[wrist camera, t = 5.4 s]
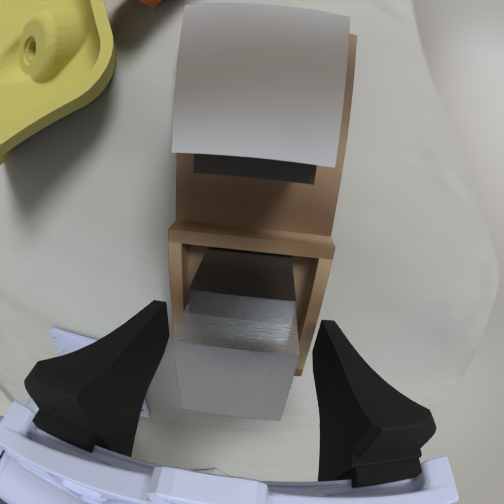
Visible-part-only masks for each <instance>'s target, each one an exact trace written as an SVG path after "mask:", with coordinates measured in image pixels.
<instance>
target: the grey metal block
mask: <svg viewBox="0 0 504 504" xmlns="http://www.w3.org/2000/svg"><path fill="white" fill-rule="evenodd" d="M295 306H296V293H295V284H294V275H293V266H292V257H291V255H283V254H274V253H265V252H256V251H246V250H237V249H228V248H219V247H208V249H207V251H206V253H205V255H204V257H203V259H202V261H201V264H200V266H199V268H198V270H197V272H196V274H195V276H194V279H193V281H192V283H191V285H190V287H189V301H188V304H187V306H186V308H185V311H184V313H183V315H182V318H181V320H180V323H179V325H178V327H177V330H176V332H175V335H174V337H173V340H172V341H173V350H174V358H175V366H176V374H177V381H178V387H179V394H180V400H181V407H182V409H188V410H193V411H199V412H205V413H212V414H218V415H226V416H234V417H242V418H252V419H264V420H278V421H280V419H281V416H282V413H283V410H284V406H285V403H286V400H287V397H288V394H289V390H290V387H291V384H292V380H293V377H294V373H295V370H296V366H297V363H298V359H299V356H300V354H299V342H298V330H297V318H296V307H295Z"/></svg>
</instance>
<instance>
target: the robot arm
mask: <svg viewBox="0 0 504 504" xmlns="http://www.w3.org/2000/svg"><path fill="white" fill-rule="evenodd" d="M50 334H51V336H52V339H53V341H54V344H55V346H56V349H57V351H58V353H59V356H58V357H55V358H51V359H47V360H42V361H38V362H37V363H36V365H35V366H34V368H33V369H32V370H31V372H30V373H29V375H28V376H27V377H26V379H25V381H24V384H25V388H26V390H27V392H28V393H29V395H30V396H31V397H30V399H29V400H28V402H27V404H26V405H25V406H24V405H22V404H21V403H19V402H17V401H14V402H13V403H12V405H11V406H10V408H9V409H8V411H7V413H6V414H5V416H0V504H452V503H454V502H456V501H458V499H459V497H458V493H457V489H456V486H455V482H454V478H453V475H452V471H451V467H450V464H449V461H448V458H447V456H441V457H438V458H434V459H430V460H426V461H424V462H422V463H420V461H419V457H421V455H422V453H421V450H420V448H421V447H422V446H423V445H424V444H425V443H426V442H427V441H428V440H429V439H430V438H431V437H432V436H433V435H434V433H435V431H436V425H435V422H434V419H433V417H432V414H431V412H430V410H429V409H427V408H425V407H423V406H421V405H419V404H417V403H416V402H414V401H412V400H410V399H409V398H407V397H406V396H404V395H403V394H401V393H400V392H398V391H397V390H396V389H394V388H393V387H392V386H391V385H389V384H388V383H387V382H386V381H385V380H383V379H382V378H381V377H380V376H379V375H378V374H377V373H376V372H375V371H374V370H373V369H372V368H371V367H370V366H369V365H368V364H367V363H366V362H365V361H364V359H363V358H362V357H361V356H360V355H359V354H358V352H357V351H356V350H355V348H354V347H353V346H352V345H351V343H350V342H349V341H348V339H347V338H346V336H345V335H344V334H343V332H342V331H341V329H340V328H339V326H338V325H337V324H336V322H335V321H332V320H322V321H321V324H320V328H319V331H318V334H317V338H316V341H315V345H314V348H313V351H312V355H313V374H314V380H315V387H316V393H317V399H318V406H319V415H320V457H319V473H318V482H273V481H258V480H255V479H249V478H243V477H234V476H226V475H218V474H211V473H205V472H199V471H193V470H188V469H183V468H178V467H171V466H160V465H156V464H153V463H149V462H145V461H142V460H138V459H135V458H131V455H132V449H133V443H134V438H135V434H136V429H137V425H138V421H139V417H144V418H148V417H149V415H150V413H149V410H148V407H147V404H146V400H145V396H146V393H147V390H148V388H149V385H150V383H151V381H152V379H153V377H154V374H155V372H156V370H157V368H158V365H159V363H160V361H161V359H162V356H163V354H164V352H165V348H166V345H167V342H168V338H169V326H168V316H167V305H166V302H162V301H156V300H154V301H153V302H151V303H150V304H149V305H147V306H146V307H145V308H144V309H142V310H141V311H140V312H139V313H137V314H136V315H135V316H134V317H132V318H131V319H130V320H128V321H127V322H126V323H124V324H123V325H121V326H120V327H118V328H117V329H116V330H114V331H113V332H111V333H110V334H108V335H106V336H105V337H103V338H101V339H99V340H95V339H91V338H88V337H84V336H81V335H77V334H74V333H70V332H67V331H64V330H61V329H57V328H54V327H53V328H51V330H50Z"/></svg>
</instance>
